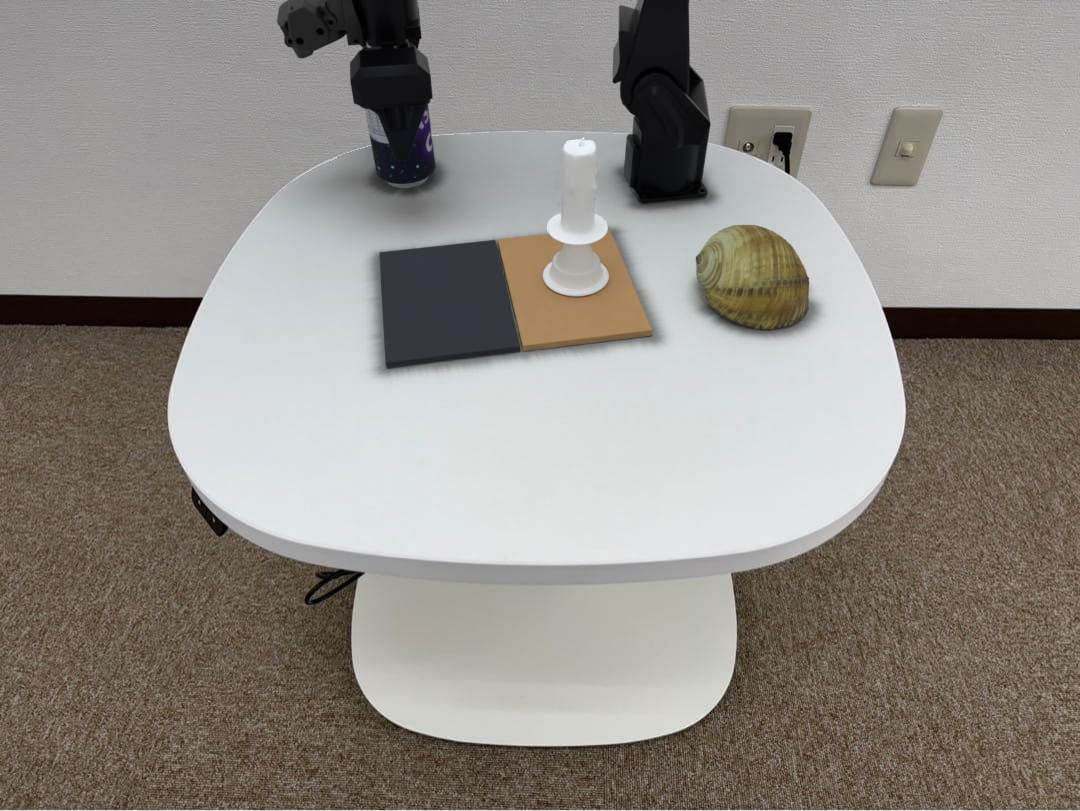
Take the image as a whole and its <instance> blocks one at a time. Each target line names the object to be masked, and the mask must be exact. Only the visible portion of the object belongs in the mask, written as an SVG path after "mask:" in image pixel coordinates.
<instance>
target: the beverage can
mask: <svg viewBox="0 0 1080 811" xmlns="http://www.w3.org/2000/svg"><path fill="white" fill-rule="evenodd" d="M408 43H409V42H408ZM409 47H415V46H414V45H413V44H412V43H409ZM394 48H397V46H394ZM373 49H381V47H376V48H368V47H367V46H365V47H364V48H363V47H361V50H373ZM364 112H365V118H366V124H367V129H368V134H369V140H370V143H371V144H370V146H371V149H372V150H371V151H372V156H373V162H374V167H375V174H376V175H377V176H378V177H379V178H380V179H381V180H382V181H384V182H386V183H387V184H388V185H390V186H391V187H394V188H399V189H410V188H415V187H418V186H420V185H422V184H424V183H425V182H426V181H427V180H428V179H429V178H430V177H431V175H432V174H433V173H434V172H435V170H436V159H435V158H436V157H435V149H434V142H433V134H432V125H431V117H430V108H429V104H428V105H427V107H426V110H425V113H424V115H423V118H422V121H421V123H420V126H419V129H418V132H417V135H416V138H415V141H414V144H413V147H412V150H411V153H410V156H409V158H408V160H406V161H396V160H395V157H394V155H393V152H392V150H391V147H390V145H389V142H388V140H387V137H386V134H385V132H384V129H383V127H382V124H381V122H380V120H379V117H378V115H377V114H376V113H375V112H373V111H371V110H370V109H364Z"/></svg>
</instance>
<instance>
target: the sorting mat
mask: <svg viewBox="0 0 1080 811" xmlns="http://www.w3.org/2000/svg"><path fill="white" fill-rule="evenodd" d="M563 245H564V243H562V242H559V241H557V240H555V239H554V238H553V237H551V236H550V234H549V233H546V234H537V235H527V236H518V237H517V236H516V237H508V238H507V237H506V238H500V239H499V238H498V239H497V242H496V239H490V240H489V239H488V240H482V241H481V240H480V241H471V242H463V243H461V242H460V243H453V244H444V245H443V244H442V245H433V246H425V247H416V248H406V249H405V248H404V249H397V250H387V251H380V252H379V269H380V271H379V272H380V286H381V288H380V289H381V301H382V302H381V305H382V323H383V342H384V358H385V360H384V362H385V367H386V368H387V369H390V368H391V369H392V368H396V367H397V368H398V367H406V366H415V365H423V364H430V363H439V362H447V361H454V360H456V361H457V360H462V359H472V358H478V357H479V358H480V357H488V356H497V355H505V354H512V353H520V352H521V348H522V351H523V352H529V351H537V350H538V351H539V350H546V349H554V348H561V347H569V346H577V345H583V344H584V345H586V344H587V345H588V344H594V343H603V342H611V341H618V340H626V339H635V338H643V337H650V336H652V334H653V329H652V326H651V324H650V321H649V319H648V316H647V313H646V311H645V309H644V306H643V304H642V302H641V299H640V297H639V295H638V292H637V290H636V287H635V284H634V282H633V280H632V278H631V276H630V273H629V271H628V269H627V265H626V264H625V261H624V258H623V256H622V253H621V252H620V248H619V246H618V244H617V242H616V239H615V237H614V235H613V233H612V230H611V227H608V231H607V233H606V235H605V236H604V237H603V238H602V239H600V240H598V241H596V242H594V243H591V244H590V247H591V249H592V251H593V252H594V253H596V254H597V255H598V257H599V259H600V263H602V264H603V265H604V266H605V267H606V269H607V271H608V273H609V279H608V282H607V284H606V285H605V286H604V287H603V288H602V289H601V290H600V291H598V292H596V293H594V294H591V295H587V296H577V297H576V296H566V295H562V294H559V293H557V292H555V291H553V290H551V289H550V288H549V287H548V286H547V285H546V284H545V282H544V280H543V271H544V269H545V268H546V266H547V265H548V264H549V263H551V262H552V261H553V258H554V256H555V255H556V254H557V253H558V252H559V251H561V249H562V247H563ZM511 305H512V306H511ZM519 340H520V341H519Z"/></svg>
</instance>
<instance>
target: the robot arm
mask: <svg viewBox="0 0 1080 811" xmlns="http://www.w3.org/2000/svg"><path fill="white" fill-rule="evenodd" d="M420 16H421V15H420V8H419V3H418V0H286V1H284V2H283V3H281V4H280V6H279V7H278V11H277V18H276V23H277V25H278V27H279V29H280V30H281V32H282V33H283V42H284V45H285V46H286V47H288V48H292V51H293V52H294V54H295V55H296V58H298V59H301V60H302V59H305V58H308V57H310V56H312V55H313V54H314V52H315V51H317V50H320V49H322V48H324V47H326V46H329V45H331V44H333V43H335V42H337V41H339V40H341V39H343V38H344V37H345V36H346V41H347V46H360V47H361V48H364V47H365V46H367V47H368V48H376V47H381V49H373V50H362V49H360V50H358V51H357V53H356V54H355V56H354V57H353V58H352V59H351V61H349V82H350V88H351V95H352V101H353V104H354V105H357V106H359V108H362V109H364V110H365V109H370V110H371V111H373V112H375V113H376V114H377V115H378V117H379V120H380V122H381V124H382V127H383V129H384V132H385V134H386V137H387V140H388V142H389V145H390V147H391V150H392V152H393V155H394V157H395V160H396V161H406V160H408V158H409V156H410V153H411V150H412V147H413V144H414V141H415V138H416V135H417V132H418V129H419V126H420V123H421V121H422V118H423V115H424V113H425V110H426V107H427V105H428V106H429V104H430V103H431V100H432V99H433V97H434V96H433V87H432V85H433V84H432V76H431V75H432V74H431V69H430V63H429V59H428V56H427V55H425V54H424V53H423V52H422V51H421V50H419V45H420V40H422V39H423V38H422V29H421V18H420ZM617 33H618V39H617V42H616V43H615V45H614V47H613V49H612V81H611V82H612V84H618V83H619V98H620V101H621V104H622V106H624V107H625V108H626V110H627V111H628V112H629V113H630V114H631V115H632V116H633V118H632V131H631V133H628V134H627V135H626V138H625V151H624V163H623V164H624V165H623V176H624V177H625V180H626V181H627V185H628V187H630V189H631V190H633V192H634V194H635V197H636V199H637V201H638V202H639V203H640V204H654V203H655V204H656V203H664V202H673V201H683V200H693V199H703V198H707V196H708V193H709V192H708V188H707V187H706V186H705V184H704V182H703V178H704V171H705V165H706V164H705V163H706V158H707V150H708V144H709V137H710V130H711V119H710V113H709V108H708V107H709V106H708V98H707V94H706V86H705V81H704V78H702V76H701V75H700V74H699V73H698V72H697V70H695V69H694V68H693V66H692V65H691V64H690V62H691V60H690V56H691V55H690V54H691V51H690V50H691V49H690V48H691V46H690V44H691V43H690V0H636V4H635V7H634V8H633V7H629V6H626V5H622V4H621V5H620V4H619V5H618V32H617ZM408 42H409V43H412V44H413V45H414V46H415V47H409V43H408ZM394 46H397V48H394Z"/></svg>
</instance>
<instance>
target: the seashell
mask: <svg viewBox="0 0 1080 811" xmlns="http://www.w3.org/2000/svg"><path fill="white" fill-rule="evenodd" d="M695 266H696V268H695V275H696V279H697V281H698V284H699V285H700V286H701V287H702V288H703V289H704V290H705V292H706V293H705V296H704V297H705V299H706V301H707V302H708V304H709V306H710V307H711V308H712V309H713V310H714V311H715V312H717V313H718V314H719V315H721V317H722V318H724V319H728V320H730V321H731V322H733V323H736V324H740V325H742V326H745V327H749V328H751V329H753V330H755V329H756V330H767V331H769V330H778V329H781V328H785V327H792V326H793V325H796V324H798V323H799V322H800V321H801V320H802V319H804V318H805V316H806V314H808V310H810V309H809V308H810V307H809V305H810V297H809V296H810V277H809V276H808V273H807V270H806V267H805V266H804V264H803V262H802V261H801V257H800V256H799V254H798V253H797V252H796V250H795V248H794V247H793V246H792V243H790V242H788V240H787V239H785V238H784V237H783V236H782V235H780V234H778V233H777V232H775V231H774V230H771V229H769V228H767V227H764V226H760V225H756V224H733V225H731V226H727V227H724V228H722V229H720V230H718V231H717V232H716V233H715V234H713V235H712V236H710V238H708V240H707V241H706V243H705V244H704V245H703V247H702V249H701V250H700V251H699V253H698V254H697V255H696V256H695Z"/></svg>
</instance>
